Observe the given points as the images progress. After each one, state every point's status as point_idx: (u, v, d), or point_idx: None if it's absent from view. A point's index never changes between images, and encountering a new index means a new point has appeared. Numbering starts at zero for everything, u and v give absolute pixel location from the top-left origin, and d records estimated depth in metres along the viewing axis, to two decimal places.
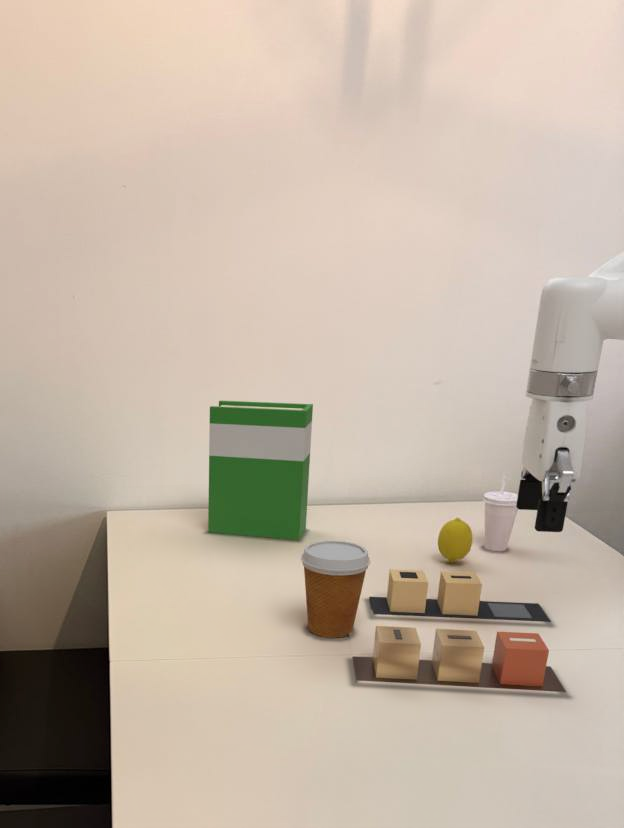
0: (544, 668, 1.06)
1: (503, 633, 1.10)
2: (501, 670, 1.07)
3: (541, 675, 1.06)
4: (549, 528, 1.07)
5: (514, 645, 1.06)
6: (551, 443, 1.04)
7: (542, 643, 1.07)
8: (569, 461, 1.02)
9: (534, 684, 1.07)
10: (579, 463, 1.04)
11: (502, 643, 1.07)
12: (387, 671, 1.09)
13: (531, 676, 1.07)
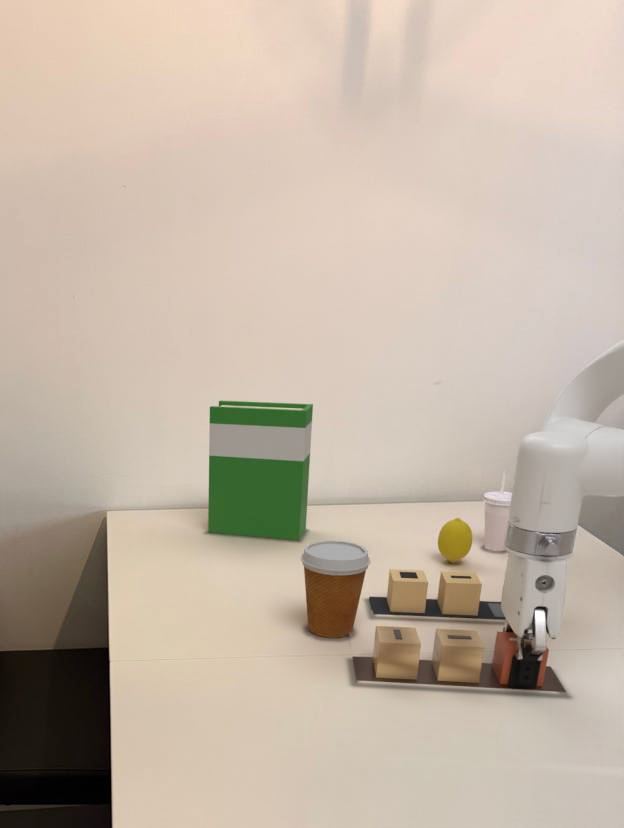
0: (544, 668, 1.06)
1: (503, 633, 1.10)
2: (501, 670, 1.07)
3: (541, 675, 1.06)
4: (523, 684, 1.06)
5: (514, 645, 1.06)
6: (529, 602, 1.01)
7: None
8: (544, 630, 1.00)
9: None
10: (558, 622, 1.01)
11: (502, 643, 1.07)
12: (387, 671, 1.09)
13: None
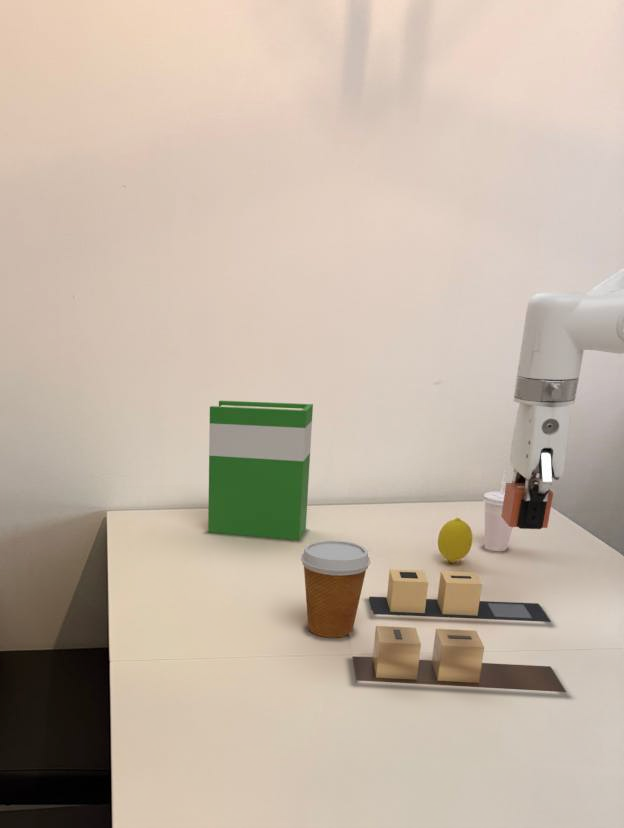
0: (549, 510, 1.19)
1: (512, 483, 1.22)
2: (510, 514, 1.20)
3: (546, 517, 1.19)
4: (530, 525, 1.19)
5: (522, 490, 1.19)
6: (537, 444, 1.14)
7: None
8: (550, 469, 1.13)
9: None
10: (562, 462, 1.14)
11: (511, 490, 1.20)
12: (387, 671, 1.09)
13: None
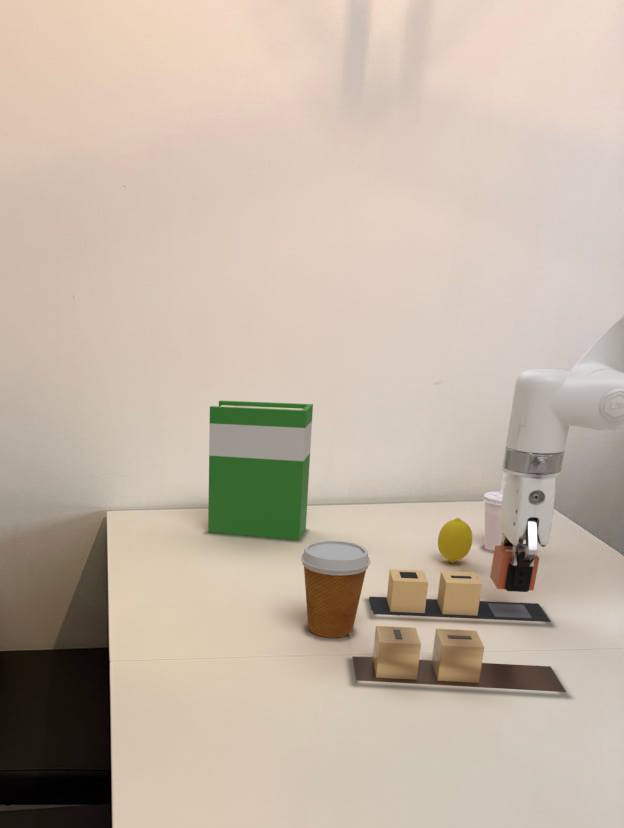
0: (535, 574, 1.24)
1: (500, 546, 1.27)
2: (498, 576, 1.25)
3: (532, 580, 1.24)
4: (517, 588, 1.24)
5: (509, 554, 1.24)
6: (523, 514, 1.19)
7: None
8: (536, 538, 1.18)
9: None
10: (548, 531, 1.19)
11: (499, 553, 1.25)
12: (387, 671, 1.09)
13: None
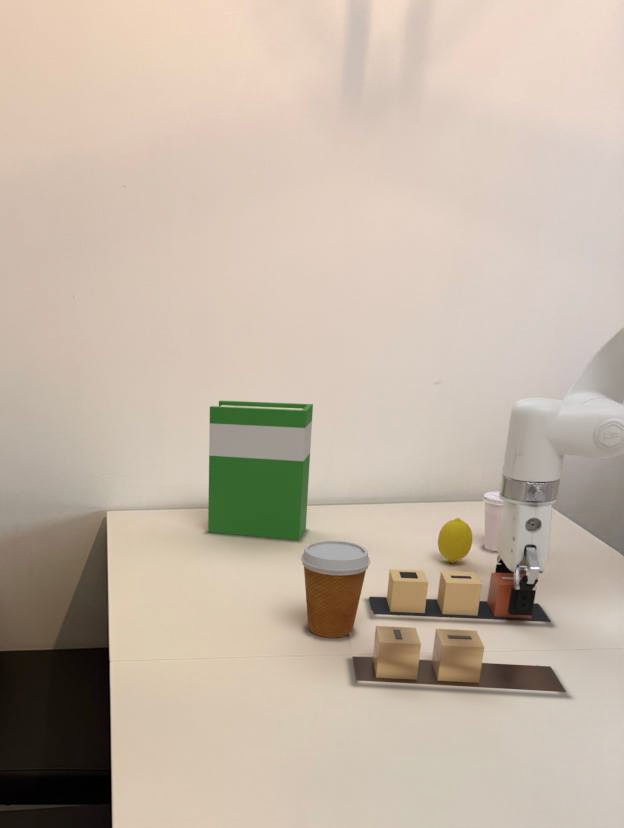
0: None
1: (496, 573, 1.29)
2: (495, 604, 1.27)
3: None
4: (520, 612, 1.23)
5: (506, 582, 1.26)
6: (521, 541, 1.20)
7: None
8: (536, 558, 1.18)
9: (523, 615, 1.26)
10: (545, 558, 1.20)
11: (495, 581, 1.27)
12: (387, 671, 1.09)
13: None
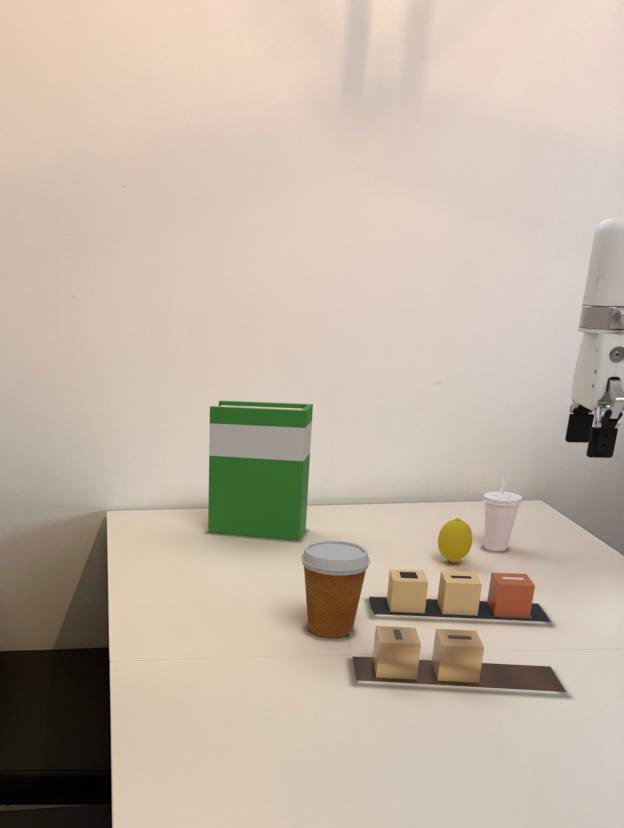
0: (531, 601, 1.25)
1: (496, 573, 1.29)
2: (495, 604, 1.27)
3: (528, 607, 1.26)
4: (600, 454, 1.16)
5: (506, 582, 1.26)
6: (603, 373, 1.12)
7: (529, 581, 1.26)
8: (621, 389, 1.11)
9: (523, 615, 1.26)
10: None
11: (495, 581, 1.27)
12: (387, 671, 1.09)
13: (520, 608, 1.26)
